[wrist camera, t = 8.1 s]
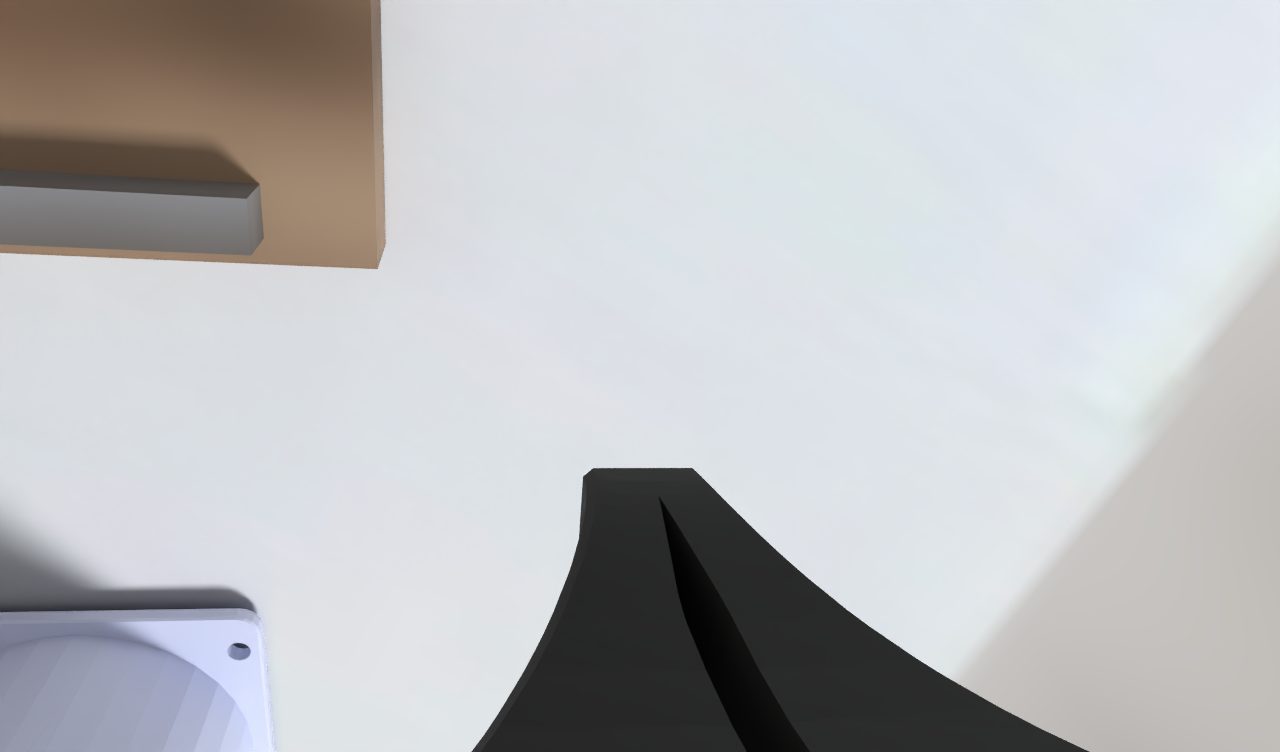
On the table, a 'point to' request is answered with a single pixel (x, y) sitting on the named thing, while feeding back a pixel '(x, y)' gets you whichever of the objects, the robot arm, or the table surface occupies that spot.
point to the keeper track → (193, 130)
